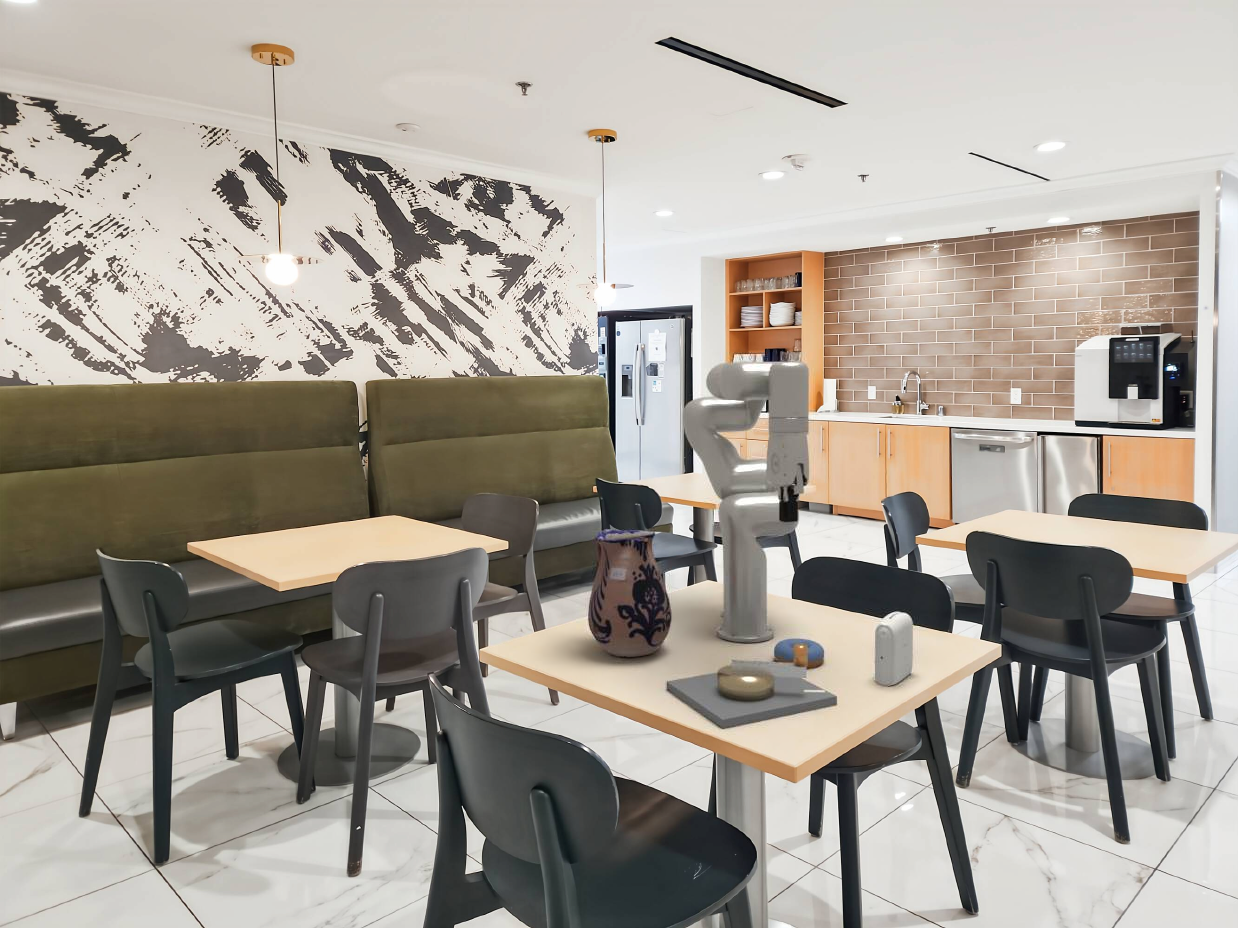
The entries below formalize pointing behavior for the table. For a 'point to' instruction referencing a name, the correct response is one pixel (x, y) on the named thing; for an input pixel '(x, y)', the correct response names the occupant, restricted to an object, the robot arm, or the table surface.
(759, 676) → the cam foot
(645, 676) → the table surface
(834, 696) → the stand
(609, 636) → the ceramic pitcher
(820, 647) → the doughnut
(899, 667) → the photo printer
